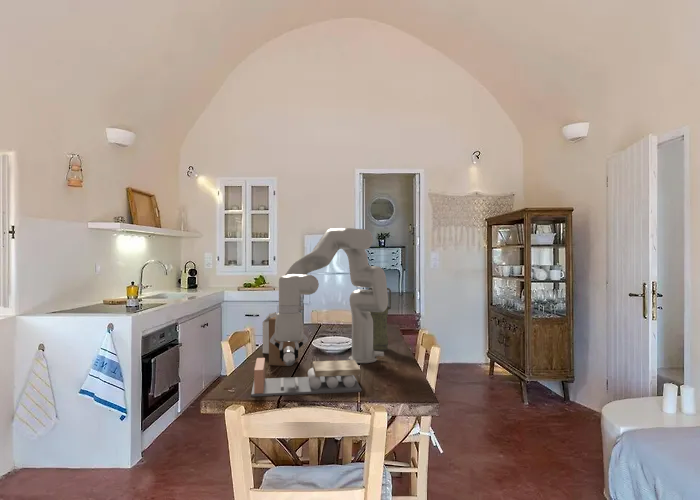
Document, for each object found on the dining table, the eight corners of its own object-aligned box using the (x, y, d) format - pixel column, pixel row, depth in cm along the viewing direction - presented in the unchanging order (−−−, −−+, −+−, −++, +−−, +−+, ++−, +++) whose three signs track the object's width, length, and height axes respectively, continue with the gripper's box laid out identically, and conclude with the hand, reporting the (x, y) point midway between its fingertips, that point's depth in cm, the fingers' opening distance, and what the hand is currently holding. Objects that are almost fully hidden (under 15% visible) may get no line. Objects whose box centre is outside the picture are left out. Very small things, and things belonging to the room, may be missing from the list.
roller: (293, 356, 181) (294, 346, 181) (294, 365, 167) (295, 354, 167) (283, 356, 181) (283, 346, 181) (283, 365, 167) (283, 354, 167)
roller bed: (353, 377, 187) (353, 354, 187) (361, 391, 168) (361, 366, 168) (254, 381, 182) (254, 357, 182) (251, 396, 163) (251, 370, 163)
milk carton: (282, 351, 233) (282, 312, 233) (275, 354, 226) (275, 314, 226) (269, 350, 235) (269, 311, 235) (262, 353, 228) (262, 313, 228)
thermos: (367, 347, 243) (367, 277, 242) (390, 347, 242) (390, 278, 242) (366, 350, 234) (366, 279, 234) (391, 351, 233) (391, 279, 233)
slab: (354, 365, 185) (354, 360, 185) (360, 374, 171) (360, 369, 171) (312, 366, 182) (312, 361, 182) (315, 376, 168) (315, 371, 168)
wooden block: (290, 366, 204) (290, 319, 203) (268, 365, 206) (268, 318, 205) (297, 361, 213) (297, 316, 213) (276, 360, 215) (276, 315, 215)
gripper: (311, 308, 179) (311, 357, 179) (266, 308, 176) (265, 358, 176) (312, 310, 171) (312, 362, 171) (265, 311, 169) (265, 363, 169)
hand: (288, 359), depth 174 cm, fingers closed on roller, 4 cm apart
